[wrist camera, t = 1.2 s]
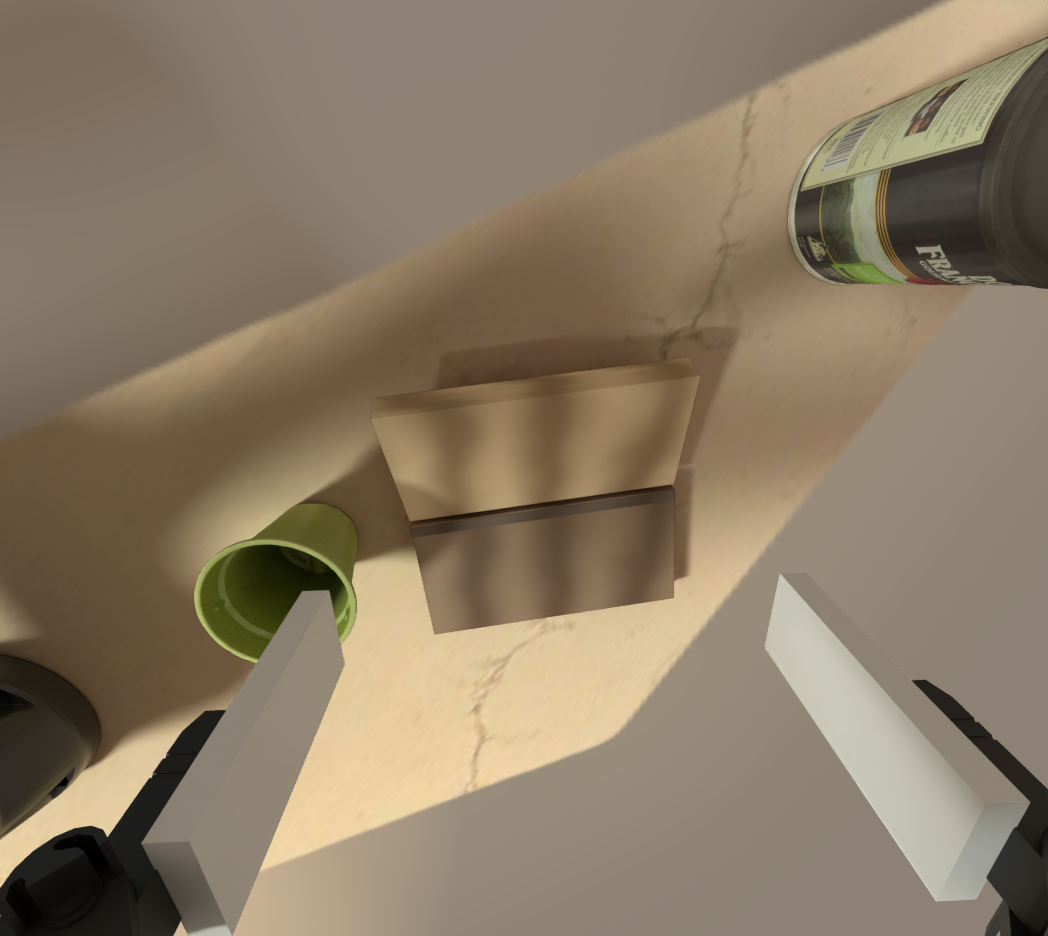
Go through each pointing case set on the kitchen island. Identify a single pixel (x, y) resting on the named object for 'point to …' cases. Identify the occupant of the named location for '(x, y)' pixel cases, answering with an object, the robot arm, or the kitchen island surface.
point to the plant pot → (278, 578)
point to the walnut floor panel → (547, 558)
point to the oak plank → (536, 437)
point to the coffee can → (934, 185)
